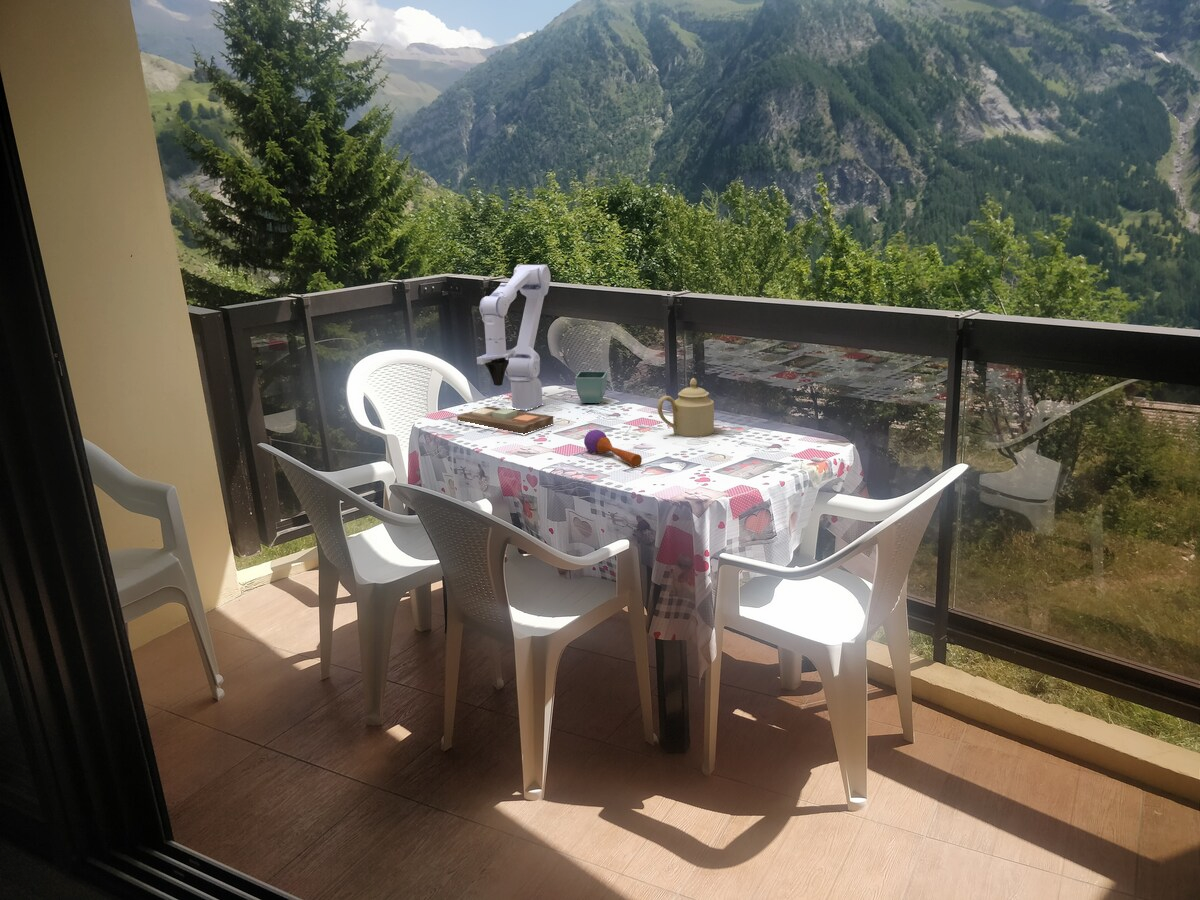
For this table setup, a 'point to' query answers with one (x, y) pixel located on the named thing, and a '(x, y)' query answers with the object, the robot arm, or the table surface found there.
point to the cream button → (483, 412)
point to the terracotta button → (526, 418)
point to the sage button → (504, 413)
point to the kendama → (609, 447)
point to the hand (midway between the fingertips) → (498, 385)
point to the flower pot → (591, 386)
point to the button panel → (508, 421)
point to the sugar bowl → (690, 412)
